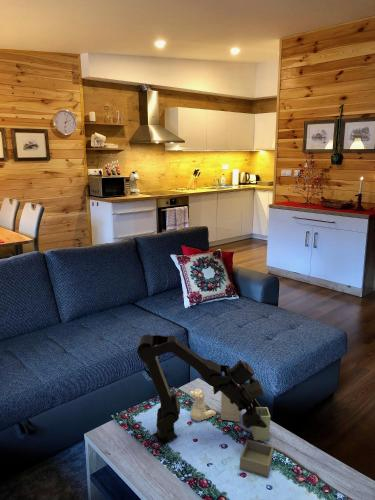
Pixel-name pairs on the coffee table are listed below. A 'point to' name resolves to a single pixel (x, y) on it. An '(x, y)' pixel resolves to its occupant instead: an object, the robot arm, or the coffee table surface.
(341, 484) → the coffee table surface
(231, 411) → the supplement box
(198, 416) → the seated beast figurine
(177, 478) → the coffee table surface
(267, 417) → the beige open box
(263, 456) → the box
